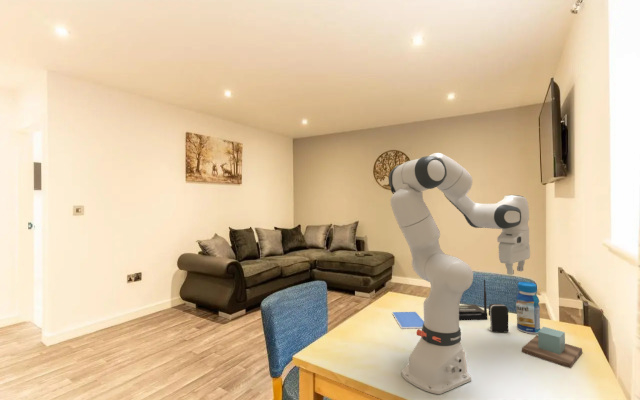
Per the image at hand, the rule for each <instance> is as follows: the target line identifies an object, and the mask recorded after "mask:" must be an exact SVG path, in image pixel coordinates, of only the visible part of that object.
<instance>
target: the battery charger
mask: <svg viewBox="0 0 640 400" xmlns="http://www.w3.org/2000/svg"><path fill="white" fill-rule="evenodd" d="M488 316H489V317H490V318H489V319H490V320H489V321H490V328H489V329H490V331H491V332H493V333H509V309H508V306H506V304H503V303H491V304H489V306H488Z"/></svg>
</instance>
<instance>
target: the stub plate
mask: <svg viewBox="0 0 640 400" xmlns="http://www.w3.org/2000/svg"><path fill="white" fill-rule="evenodd" d="M521 353H523V354H526V355H529V356H533V357H536V358H537V359H538V358H539V359H542V360H545V361H547V362H550V363H553V364H556V365H560V366H563V367H566V368H568V369H571V368H572V367H573V365H574V364H575V363H576V362H577V360H578V359H579V358H580V357H581V355H582V353H583V347H578V346H575V345H571V344H569V343H565V350H564V351H563V352H562V353H561V354H557V353H553V352H550V351H547V350H544V349H541V348H538V335H535V336H534V337H533V338H531V340H529V341H528V342H527V343H525V345H524V346H522V347H521Z"/></svg>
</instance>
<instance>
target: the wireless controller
mask: <svg viewBox="0 0 640 400" xmlns="http://www.w3.org/2000/svg"><path fill="white" fill-rule="evenodd" d="M486 290H487V289H486V280H485V279H484V280H483V308H481V307H480V306H478V305H476V304H467V305H465V304H464V305H463V304H461V305H460V304H459V322H460V321H487V320H488V312H487V311H488V308H487V307H488V306H487V305H488V304H487V291H486Z"/></svg>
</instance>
